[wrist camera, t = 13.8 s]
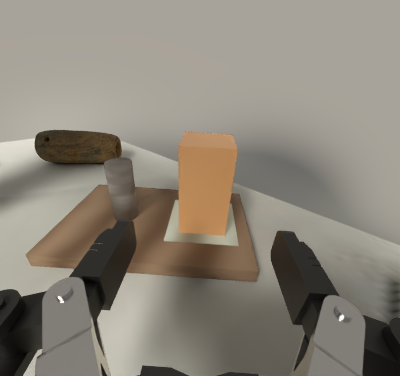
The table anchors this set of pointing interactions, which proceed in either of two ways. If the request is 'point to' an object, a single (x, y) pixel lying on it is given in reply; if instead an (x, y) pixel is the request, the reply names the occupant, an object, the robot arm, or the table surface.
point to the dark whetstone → (77, 146)
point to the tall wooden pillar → (205, 182)
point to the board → (149, 232)
